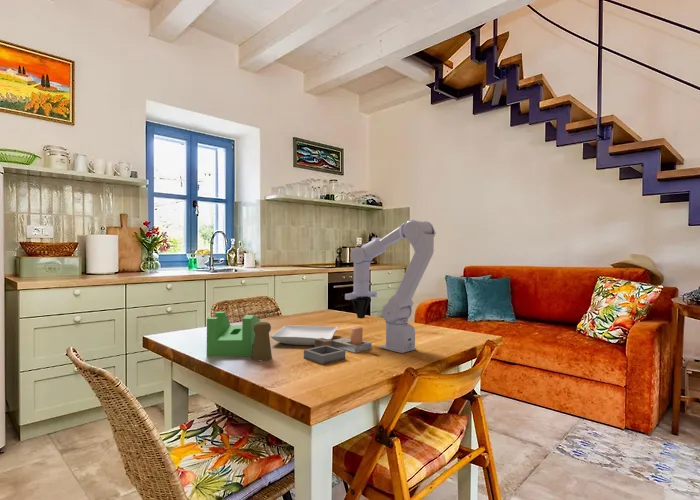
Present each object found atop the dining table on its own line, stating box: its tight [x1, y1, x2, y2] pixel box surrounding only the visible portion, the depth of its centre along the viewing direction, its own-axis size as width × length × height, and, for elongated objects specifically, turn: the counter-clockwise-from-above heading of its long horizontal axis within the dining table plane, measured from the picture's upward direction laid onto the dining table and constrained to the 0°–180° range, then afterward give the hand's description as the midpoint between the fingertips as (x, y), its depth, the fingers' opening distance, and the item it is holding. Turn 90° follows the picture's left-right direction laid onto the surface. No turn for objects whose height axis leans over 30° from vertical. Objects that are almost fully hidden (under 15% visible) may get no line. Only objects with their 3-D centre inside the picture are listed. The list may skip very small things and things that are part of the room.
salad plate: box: [270, 324, 339, 346], centre depth 146 cm, size 21×21×3 cm
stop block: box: [314, 338, 333, 348], centre depth 132 cm, size 5×3×4 cm, turn 44°
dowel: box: [350, 326, 364, 345], centre depth 135 cm, size 4×4×7 cm
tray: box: [303, 345, 346, 365], centre depth 123 cm, size 9×9×2 cm
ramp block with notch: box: [206, 311, 261, 358], centre depth 136 cm, size 24×13×12 cm, turn 6°
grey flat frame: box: [331, 336, 373, 354], centre depth 136 cm, size 12×8×2 cm
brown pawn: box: [251, 321, 273, 362], centre depth 122 cm, size 6×6×11 cm
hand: (361, 318), depth 146 cm, fingers closed
